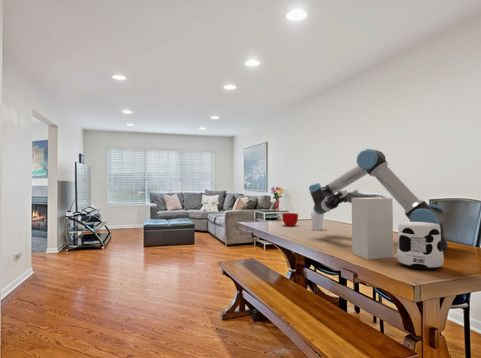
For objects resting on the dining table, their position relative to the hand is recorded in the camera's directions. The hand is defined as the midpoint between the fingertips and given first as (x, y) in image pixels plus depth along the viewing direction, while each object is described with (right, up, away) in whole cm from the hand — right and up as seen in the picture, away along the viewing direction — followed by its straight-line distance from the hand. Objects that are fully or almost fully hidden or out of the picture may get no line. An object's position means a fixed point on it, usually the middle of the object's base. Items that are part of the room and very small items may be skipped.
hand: (351, 192), depth 168 cm
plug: (0, -5, +1) cm, 5 cm away
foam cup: (-2, -32, +67) cm, 75 cm away
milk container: (+15, -30, -37) cm, 50 cm away
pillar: (+4, -30, -17) cm, 35 cm away
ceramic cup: (-18, -32, +92) cm, 99 cm away
